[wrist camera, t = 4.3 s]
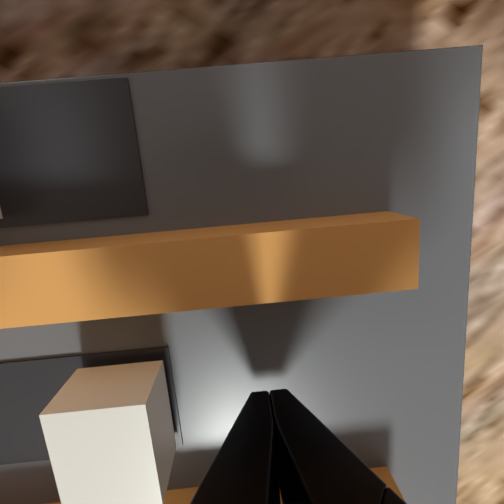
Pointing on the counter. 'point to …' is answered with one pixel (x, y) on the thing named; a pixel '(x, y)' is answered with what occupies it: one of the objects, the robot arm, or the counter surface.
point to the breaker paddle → (111, 435)
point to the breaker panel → (245, 212)
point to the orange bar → (207, 268)
